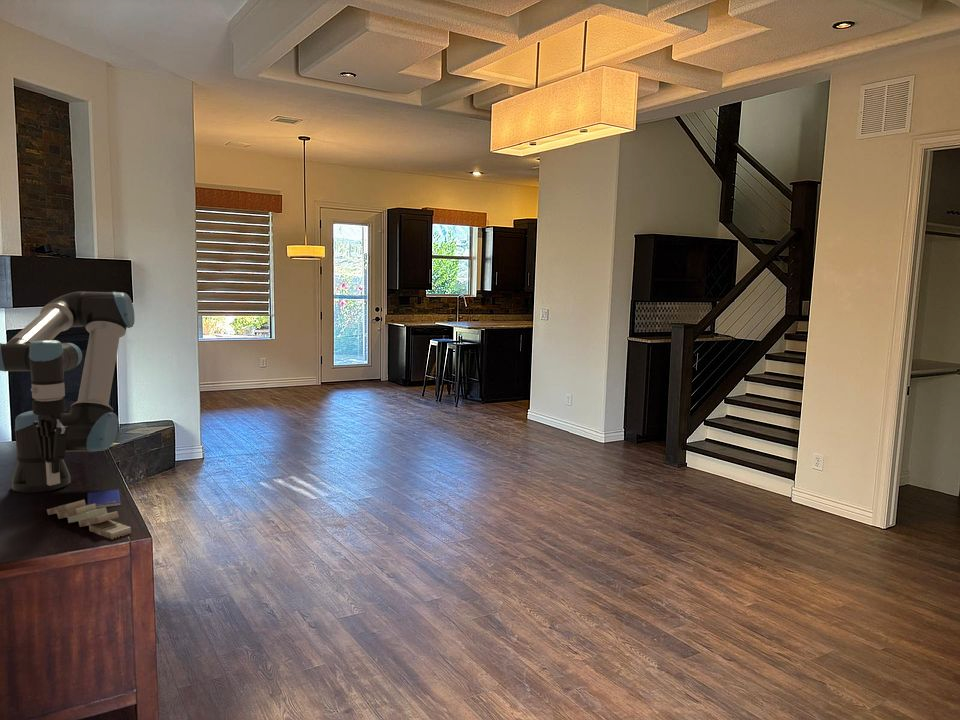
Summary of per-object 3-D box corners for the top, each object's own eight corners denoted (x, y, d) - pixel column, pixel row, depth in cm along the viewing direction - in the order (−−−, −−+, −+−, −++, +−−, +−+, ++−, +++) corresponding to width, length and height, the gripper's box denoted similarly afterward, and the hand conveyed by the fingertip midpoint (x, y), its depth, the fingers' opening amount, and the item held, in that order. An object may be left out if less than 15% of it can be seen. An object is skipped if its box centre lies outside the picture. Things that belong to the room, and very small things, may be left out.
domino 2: (56, 513, 187) (76, 508, 181) (75, 507, 191) (95, 503, 186) (58, 519, 187) (77, 514, 181) (77, 513, 191) (96, 509, 186)
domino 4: (78, 520, 181) (98, 516, 176) (97, 515, 186) (117, 510, 180) (79, 527, 181) (99, 522, 176) (98, 521, 186) (118, 517, 180)
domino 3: (67, 517, 184) (86, 512, 179) (86, 511, 188) (105, 507, 183) (68, 523, 184) (88, 518, 179) (87, 517, 188) (107, 513, 183)
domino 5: (88, 524, 179) (111, 533, 174) (107, 519, 183) (130, 527, 178) (89, 531, 179) (112, 539, 174) (108, 525, 183) (131, 533, 178)
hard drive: (120, 501, 198) (118, 489, 209) (87, 505, 194) (87, 492, 205) (120, 507, 198) (119, 494, 209) (87, 511, 195) (87, 497, 205)
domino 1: (46, 509, 189) (65, 504, 184) (65, 504, 193) (84, 499, 188) (48, 515, 189) (67, 510, 184) (66, 510, 193) (85, 505, 188)
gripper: (20, 397, 188) (26, 483, 191) (47, 403, 181) (52, 492, 184) (49, 393, 194) (54, 476, 197) (76, 399, 187) (81, 484, 191)
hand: (53, 483), depth 191 cm, fingers closed
